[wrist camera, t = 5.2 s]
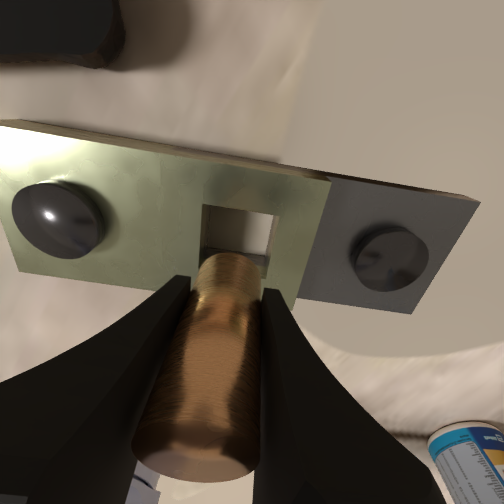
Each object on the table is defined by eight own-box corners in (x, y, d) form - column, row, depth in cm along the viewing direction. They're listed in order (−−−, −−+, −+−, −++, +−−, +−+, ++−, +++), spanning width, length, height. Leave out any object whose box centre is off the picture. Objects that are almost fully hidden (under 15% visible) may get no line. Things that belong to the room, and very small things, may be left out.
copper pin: (258, 306, 13) (255, 486, 7) (199, 301, 13) (140, 478, 7) (263, 255, 11) (266, 425, 5) (196, 249, 11) (119, 414, 5)
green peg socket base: (401, 301, 20) (430, 340, 17) (52, 250, 19) (5, 280, 16) (463, 195, 16) (519, 217, 13) (17, 119, 15) (-58, 120, 11)
